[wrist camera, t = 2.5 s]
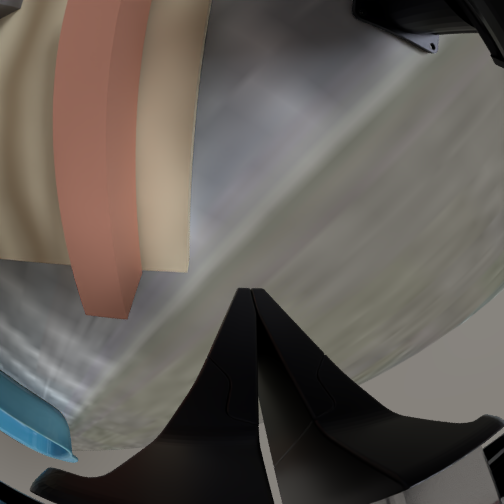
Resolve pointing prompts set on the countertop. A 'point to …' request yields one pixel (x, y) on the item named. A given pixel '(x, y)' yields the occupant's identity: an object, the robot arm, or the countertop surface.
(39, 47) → the latch board
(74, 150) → the latch bar
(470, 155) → the countertop surface
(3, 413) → the casserole dish
